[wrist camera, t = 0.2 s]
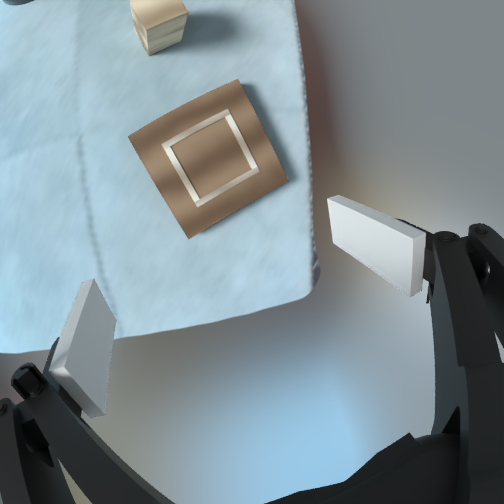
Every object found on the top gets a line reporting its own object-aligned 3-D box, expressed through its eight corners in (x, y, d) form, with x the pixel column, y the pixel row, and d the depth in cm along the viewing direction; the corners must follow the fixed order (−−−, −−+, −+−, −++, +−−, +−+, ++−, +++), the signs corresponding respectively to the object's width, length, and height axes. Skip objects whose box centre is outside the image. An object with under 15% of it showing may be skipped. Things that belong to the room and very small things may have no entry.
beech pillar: (134, 31, 30) (129, 0, 21) (166, 16, 30) (170, -17, 21) (148, 56, 32) (146, 30, 23) (181, 41, 32) (188, 12, 23)
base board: (130, 137, 35) (127, 136, 32) (232, 83, 36) (238, 78, 34) (186, 233, 42) (188, 239, 39) (280, 178, 43) (289, 181, 41)
